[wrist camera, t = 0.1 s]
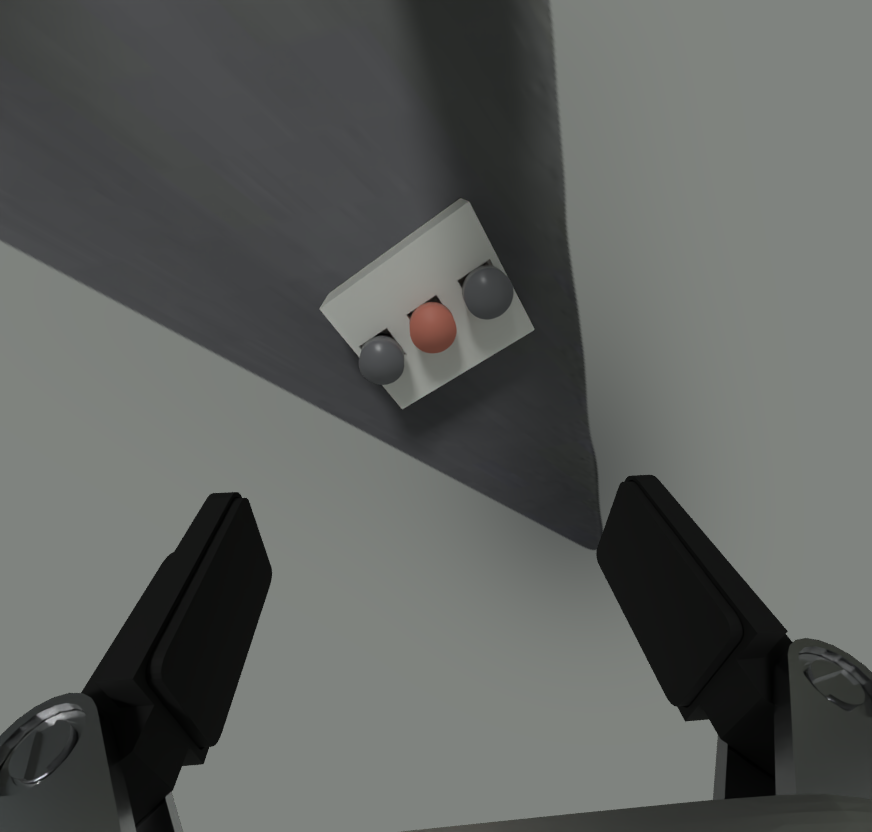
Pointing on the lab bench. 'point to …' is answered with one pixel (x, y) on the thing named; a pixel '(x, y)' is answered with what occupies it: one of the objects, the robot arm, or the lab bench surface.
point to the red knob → (432, 327)
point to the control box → (426, 301)
